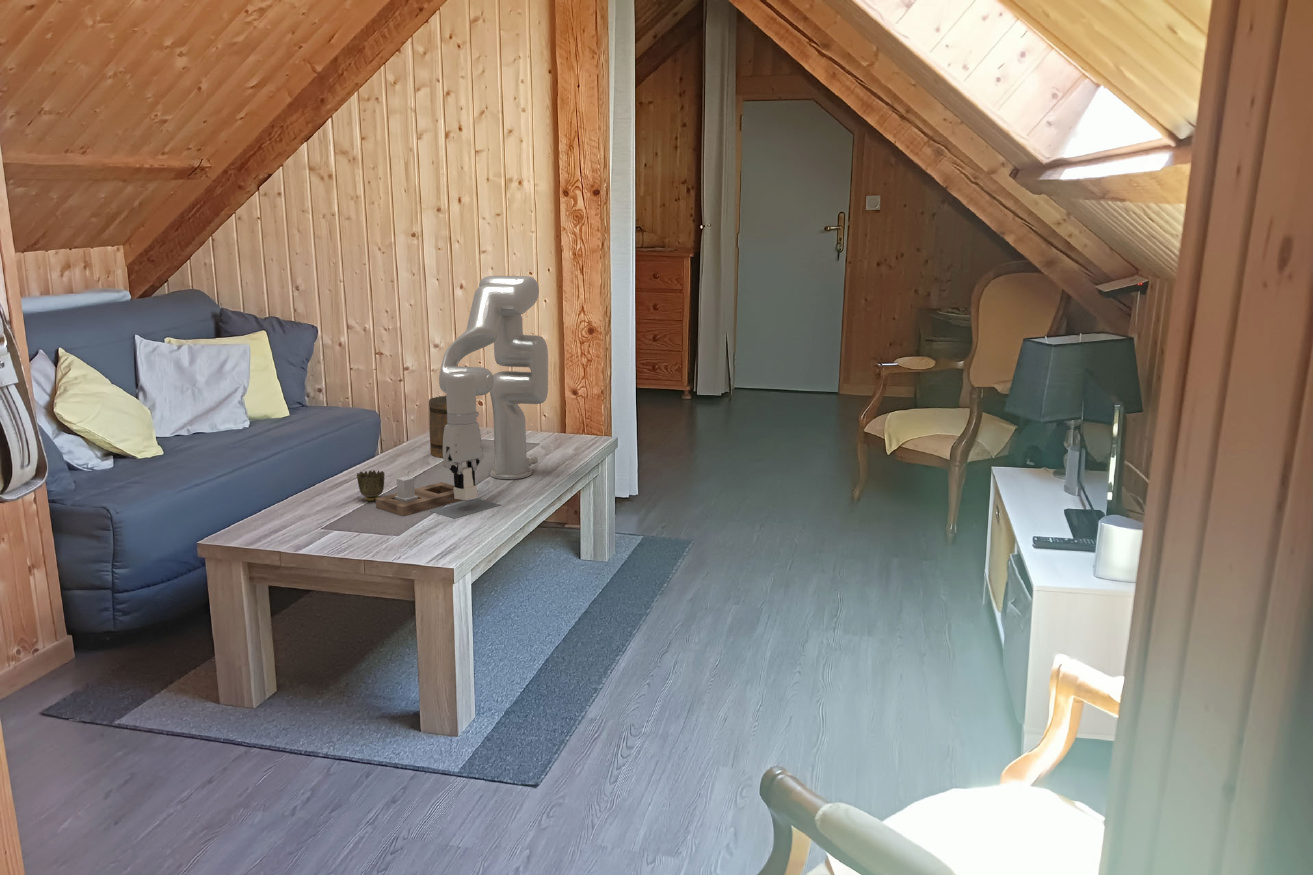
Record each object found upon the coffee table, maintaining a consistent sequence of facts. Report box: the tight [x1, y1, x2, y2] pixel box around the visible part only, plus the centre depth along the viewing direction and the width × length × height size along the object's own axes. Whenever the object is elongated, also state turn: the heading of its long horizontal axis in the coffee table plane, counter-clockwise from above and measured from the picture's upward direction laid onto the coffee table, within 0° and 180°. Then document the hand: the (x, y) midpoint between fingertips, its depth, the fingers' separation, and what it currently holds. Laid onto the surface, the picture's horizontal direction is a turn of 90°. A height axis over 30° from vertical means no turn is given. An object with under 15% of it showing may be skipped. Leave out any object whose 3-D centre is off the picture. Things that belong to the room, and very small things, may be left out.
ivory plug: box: [453, 466, 479, 501], centre depth 264 cm, size 4×5×8 cm
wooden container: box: [428, 395, 448, 459], centre depth 327 cm, size 15×15×22 cm
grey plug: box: [395, 475, 418, 503], centre depth 266 cm, size 4×5×8 cm
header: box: [375, 481, 462, 517], centre depth 270 cm, size 22×12×3 cm, turn 140°
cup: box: [356, 469, 386, 502], centre depth 273 cm, size 8×7×8 cm
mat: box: [430, 497, 501, 520], centre depth 266 cm, size 16×10×1 cm, turn 140°
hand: (464, 485), depth 264 cm, fingers closed on ivory plug, 3 cm apart
